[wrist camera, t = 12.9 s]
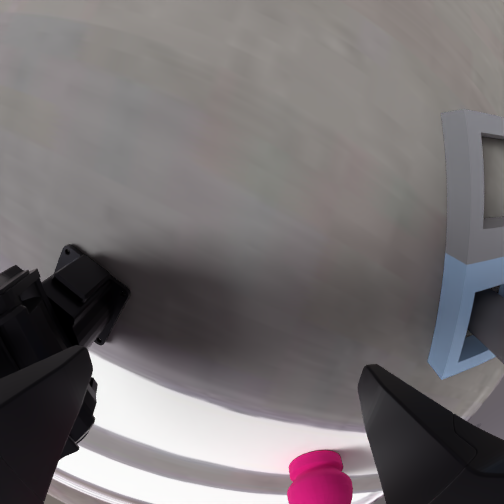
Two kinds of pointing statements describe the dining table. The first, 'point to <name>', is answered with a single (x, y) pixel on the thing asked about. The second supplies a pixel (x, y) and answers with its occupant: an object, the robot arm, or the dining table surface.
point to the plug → (488, 321)
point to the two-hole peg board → (466, 242)
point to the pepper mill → (319, 479)
